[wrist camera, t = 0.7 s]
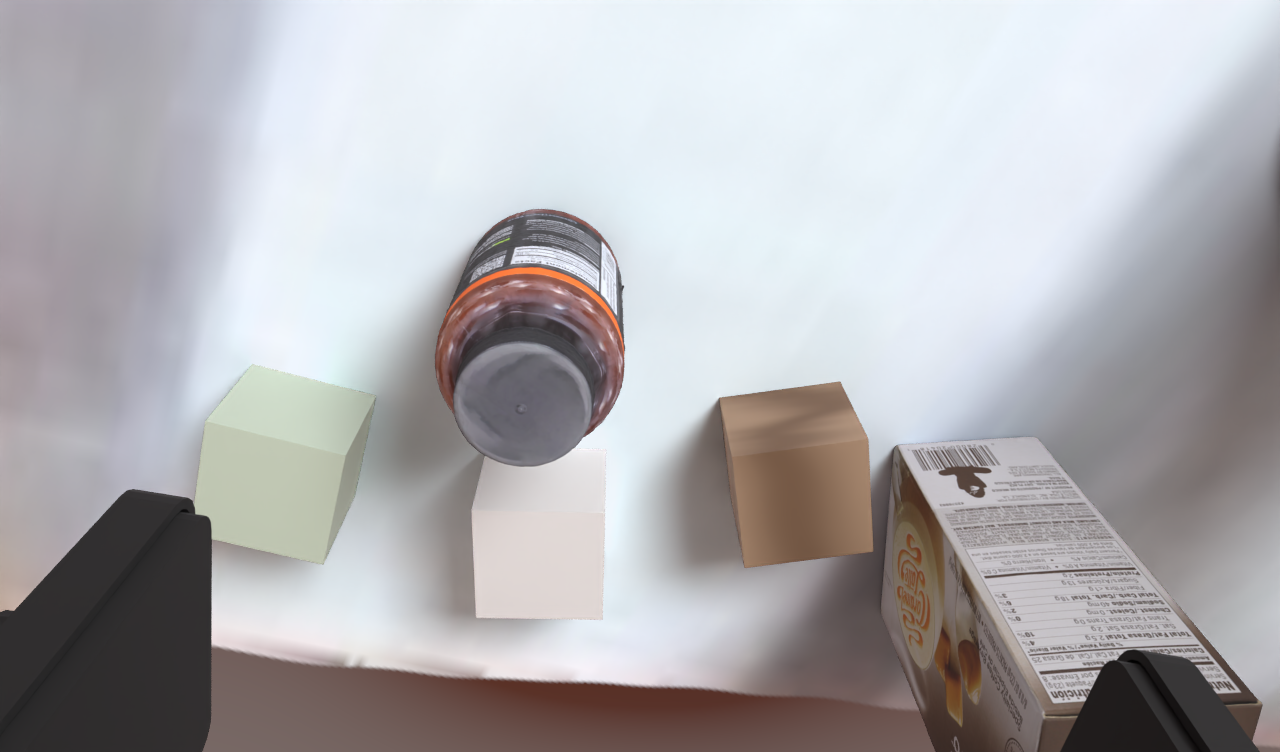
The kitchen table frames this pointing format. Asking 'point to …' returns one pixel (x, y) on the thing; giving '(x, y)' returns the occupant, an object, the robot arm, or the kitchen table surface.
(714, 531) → the kitchen table surface
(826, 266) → the kitchen table surface
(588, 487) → the pale pinkish white cube
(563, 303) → the supplement bottle
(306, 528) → the sage cube
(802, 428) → the walnut cube
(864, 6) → the kitchen table surface
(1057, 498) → the coffee box
